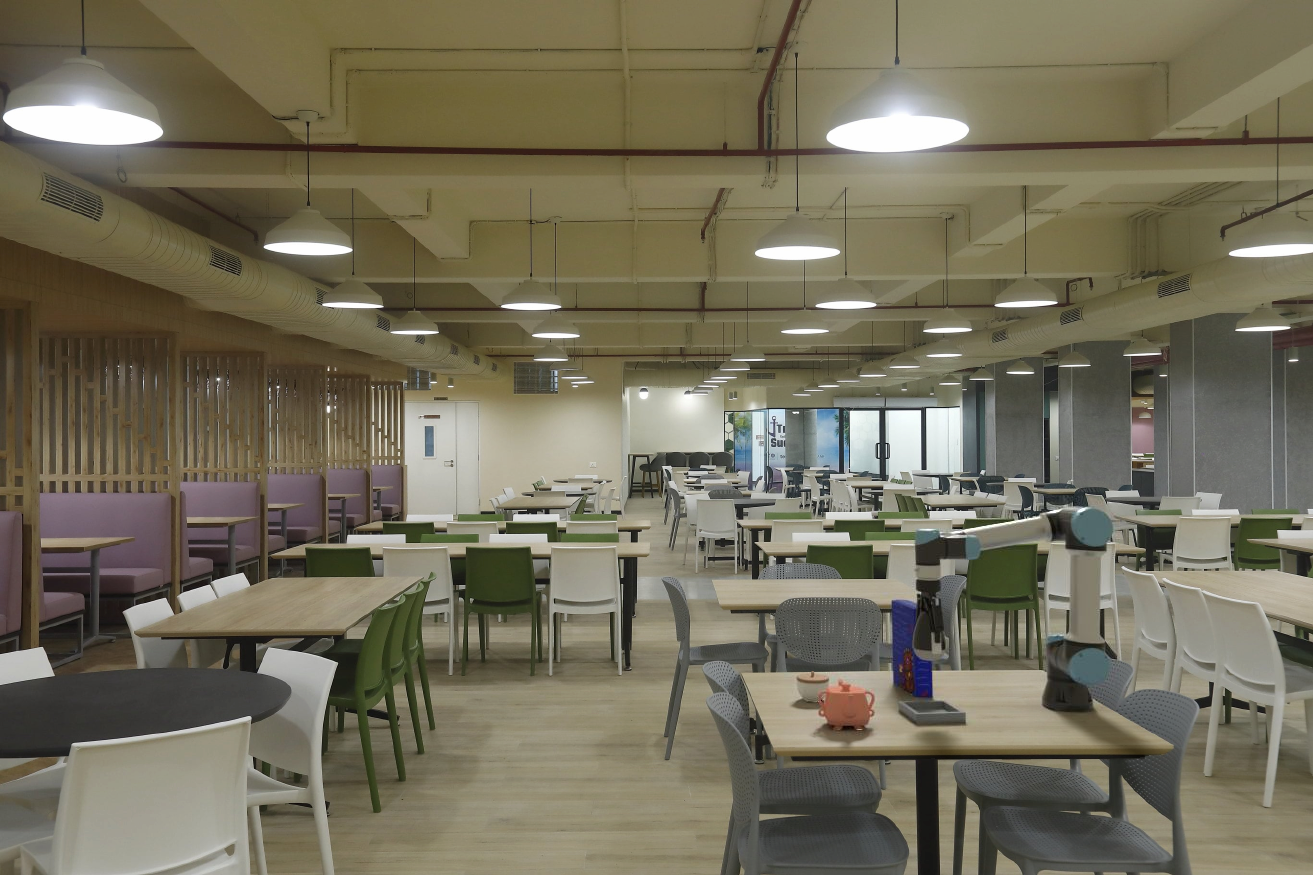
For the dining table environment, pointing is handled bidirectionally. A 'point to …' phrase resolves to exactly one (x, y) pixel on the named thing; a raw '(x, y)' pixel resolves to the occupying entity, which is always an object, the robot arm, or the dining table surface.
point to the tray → (932, 712)
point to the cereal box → (908, 652)
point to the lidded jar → (812, 685)
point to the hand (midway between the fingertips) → (929, 650)
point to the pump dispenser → (926, 639)
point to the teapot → (846, 705)
